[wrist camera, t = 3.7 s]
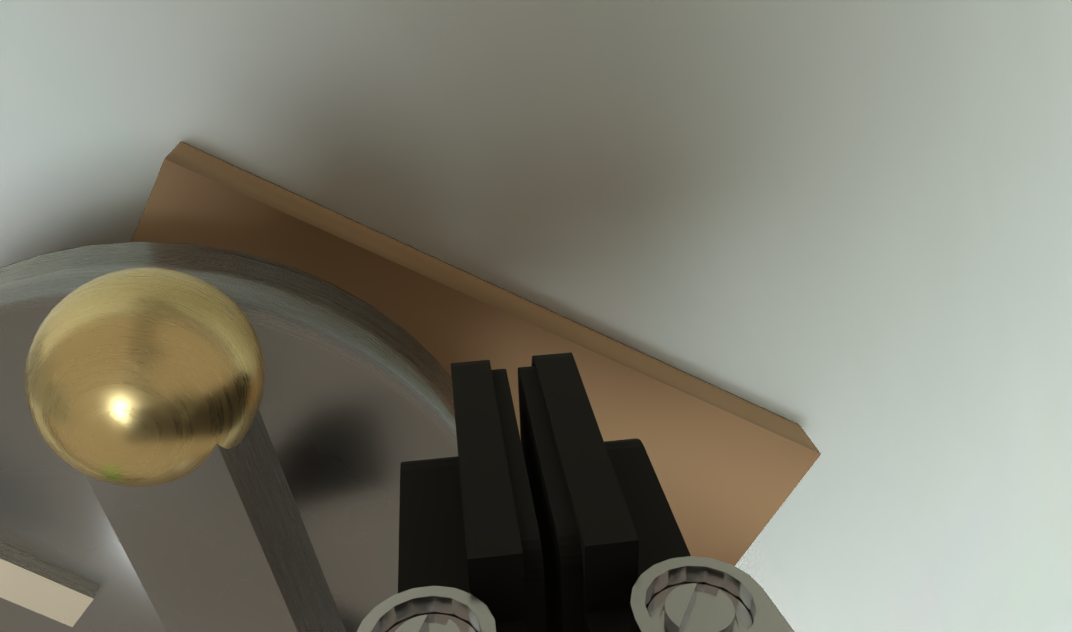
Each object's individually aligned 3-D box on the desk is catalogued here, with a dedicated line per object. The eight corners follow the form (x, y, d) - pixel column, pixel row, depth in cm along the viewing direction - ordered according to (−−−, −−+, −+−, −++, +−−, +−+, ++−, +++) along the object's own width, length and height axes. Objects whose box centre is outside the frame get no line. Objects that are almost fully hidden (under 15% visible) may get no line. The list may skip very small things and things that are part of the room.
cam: (654, 402, 18) (804, 711, 11) (297, 784, 21) (244, 1198, 15) (92, 18, 14) (-230, 138, 7) (-244, 576, 17) (-681, 1030, 10)
